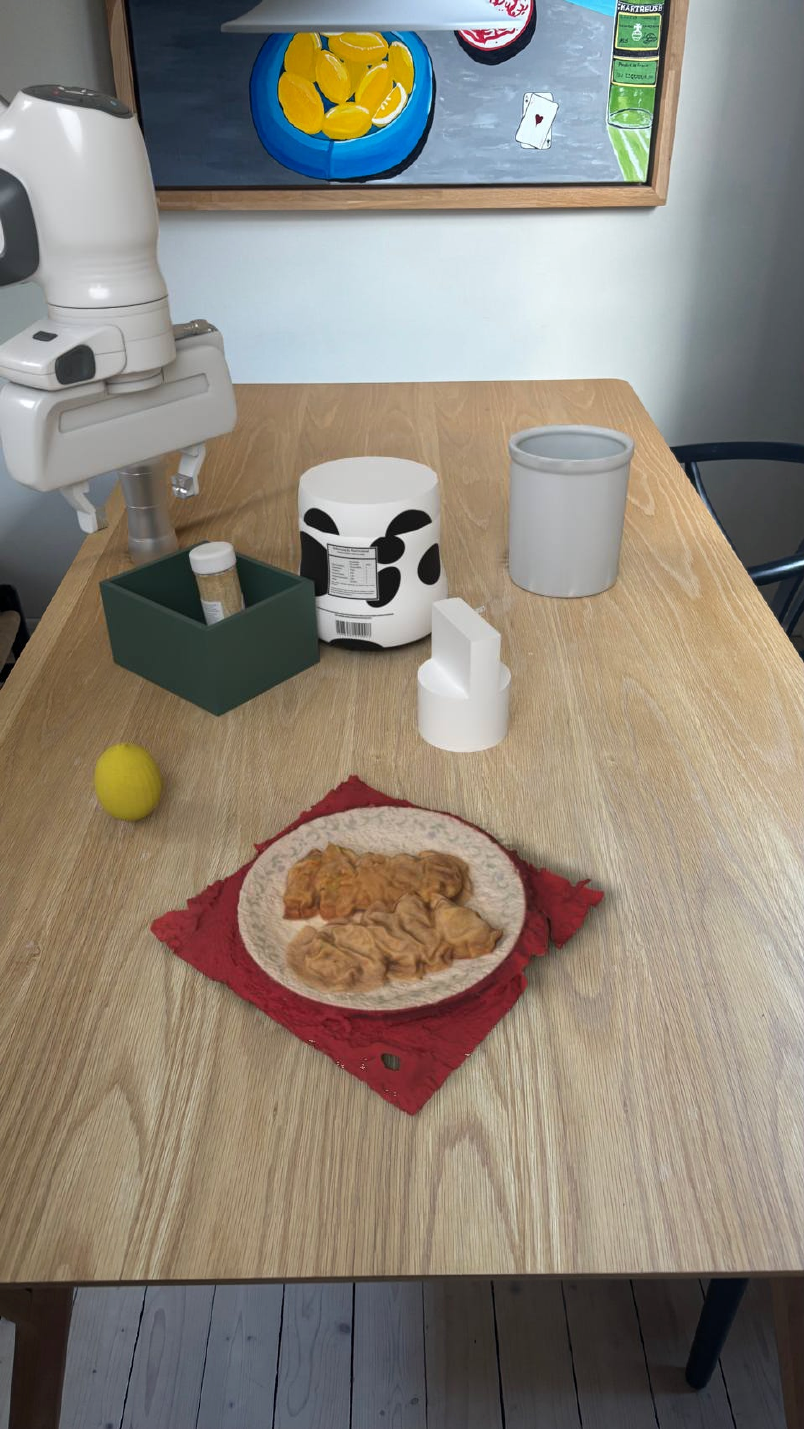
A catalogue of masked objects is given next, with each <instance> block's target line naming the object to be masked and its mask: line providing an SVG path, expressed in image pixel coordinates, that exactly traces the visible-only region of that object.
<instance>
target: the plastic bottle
mask: <svg viewBox="0 0 804 1429" xmlns="http://www.w3.org/2000/svg"><path fill="white" fill-rule="evenodd" d="M116 473H117V476H118V479H119V483H120V486H121V489H122V494H123V499H124V503H125V507H126V516H127V529H128V534H127V551H128V555H129V557H130V560H131V562H132V563H133V564H134V565H135V567H138V566H141V565H143V564H146V563H148V562H151V561H153V560H156V559H158V558H161V557H163V556H166V555H168V554H171V553H173V552H176V551H179V550H180V544H179V541H178V537H177V533H176V530H175V528H174V525H173V521H172V517H171V512H170V507H169V500H168V488H167V454H164V455H161V456H158V457H155V458H152V459H148V460H145V461H142V462H139V463H136V464H133V465H130V466H127V467H124V468H121V469H118V470H116Z"/></svg>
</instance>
